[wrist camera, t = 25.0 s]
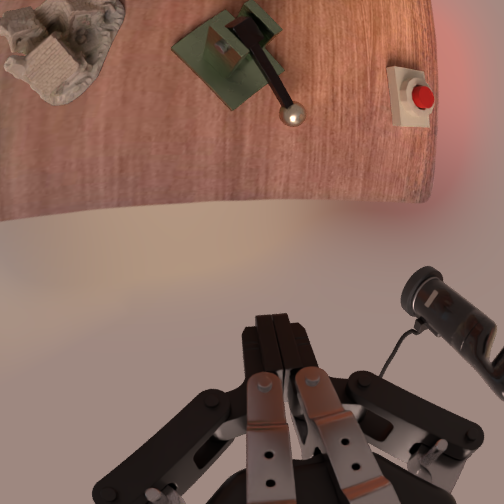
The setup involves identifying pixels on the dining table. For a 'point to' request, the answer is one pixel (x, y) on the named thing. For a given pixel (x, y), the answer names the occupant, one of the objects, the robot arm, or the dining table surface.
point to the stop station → (406, 97)
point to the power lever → (267, 69)
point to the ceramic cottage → (61, 44)
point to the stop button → (422, 97)
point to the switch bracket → (228, 55)
